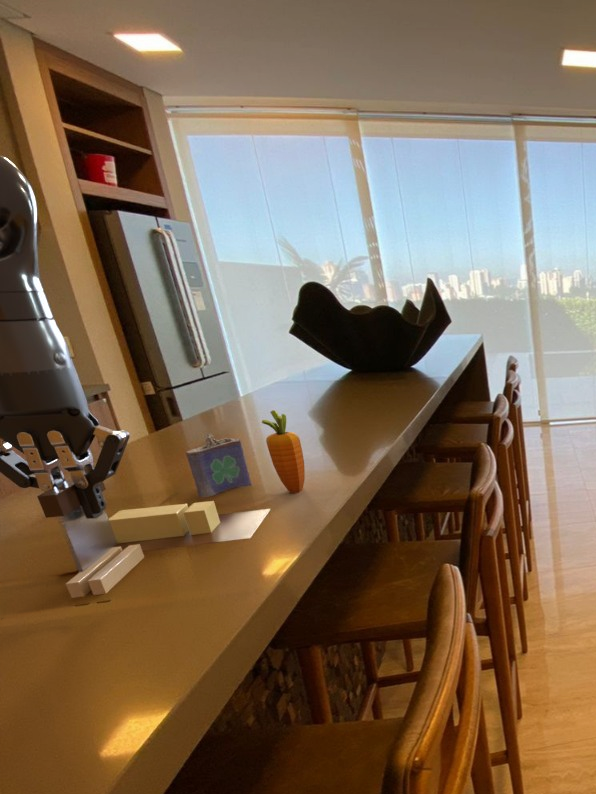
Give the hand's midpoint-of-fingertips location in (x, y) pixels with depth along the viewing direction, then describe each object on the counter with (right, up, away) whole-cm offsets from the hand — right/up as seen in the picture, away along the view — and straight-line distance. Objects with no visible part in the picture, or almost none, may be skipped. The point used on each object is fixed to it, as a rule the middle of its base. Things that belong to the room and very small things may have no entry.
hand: (83, 517), depth 66 cm
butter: (-4, -3, +14) cm, 15 cm away
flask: (-8, +3, +33) cm, 35 cm away
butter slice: (+2, -2, +16) cm, 16 cm away
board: (0, -3, +16) cm, 16 cm away
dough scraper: (0, -5, +2) cm, 5 cm away
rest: (0, -8, +3) cm, 9 cm away
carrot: (+6, +3, +32) cm, 32 cm away
